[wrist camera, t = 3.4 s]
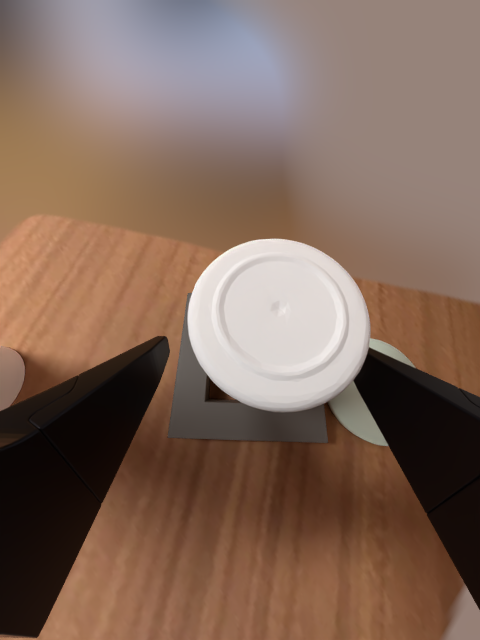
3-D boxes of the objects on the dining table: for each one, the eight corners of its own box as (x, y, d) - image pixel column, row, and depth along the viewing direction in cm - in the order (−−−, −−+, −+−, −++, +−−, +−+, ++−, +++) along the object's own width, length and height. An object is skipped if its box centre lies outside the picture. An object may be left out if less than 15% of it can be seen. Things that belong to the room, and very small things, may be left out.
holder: (316, 434, 15) (328, 442, 13) (176, 430, 15) (167, 437, 13) (304, 305, 19) (312, 297, 17) (192, 301, 19) (187, 292, 17)
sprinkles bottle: (273, 341, 17) (371, 241, 5) (269, 389, 16) (395, 435, 3) (228, 334, 18) (204, 220, 5) (220, 382, 16) (157, 398, 3)
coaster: (434, 445, 15) (442, 447, 14) (328, 441, 15) (332, 444, 14) (406, 340, 18) (411, 339, 17) (317, 337, 18) (320, 336, 17)
